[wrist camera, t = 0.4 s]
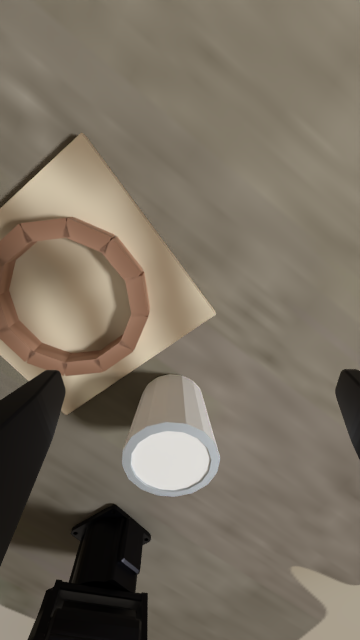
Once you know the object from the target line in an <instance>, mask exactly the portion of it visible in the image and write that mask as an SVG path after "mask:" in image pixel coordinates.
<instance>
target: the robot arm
mask: <svg viewBox="0 0 360 640" xmlns="http://www.w3.org/2000/svg"><path fill="white" fill-rule="evenodd" d="M65 393H66V390H65V386H64V382H63V379H62V376H61V373H60V371H59V370H45V371H44V372H42V373H41V374H39V375H38V376H36V377H35V378H33V379H32V380H30V381H29V382H27V383H26V384H24V385H23V386H21V387H20V388H18V389H17V390H15V391H14V392H12V393H11V394H9V395H8V396H6V397H5V398H3V399H2V400H0V566H1V563H2V561H3V559H4V556H5V554H6V551H7V549H8V546H9V544H10V541H11V539H12V537H13V534H14V532H15V529H16V527H17V524H18V522H19V520H20V517H21V515H22V512H23V510H24V507H25V505H26V503H27V500H28V498H29V495H30V493H31V490H32V488H33V486H34V483H35V481H36V478H37V476H38V473H39V471H40V469H41V466H42V464H43V461H44V459H45V456H46V454H47V451H48V449H49V447H50V444H51V441H52V439H53V436H54V433H55V429H56V426H57V422H58V419H59V415H60V412H61V408H62V405H63V402H64V398H65ZM335 394H336V398H337V401H338V404H339V407H340V410H341V413H342V416H343V419H344V422H345V425H346V428H347V431H348V434H349V436H350V439H351V442H352V444H353V446H354V448H355V451H356V453H357V455H358V457H359V459H360V371H359V370H356V369H344V370H342V371H341V373H340V376H339V380H338V383H337V386H336V390H335ZM71 534H72V535H73V536H74V537H75V538H77V539H78V540H79V541H80V545H79V548H78V552H77V555H76V559H75V562H74V566H73V569H72V573H71V576H70V580H69V583H68V582H62V580H56V582H55V585H54V587H53V588H51V589H48V590H46V593H45V596H44V599H43V602H42V605H41V608H40V610H39V613H38V616H37V618H36V621H35V623H34V625H33V628H32V630H31V633H30V635H29V638H28V640H147V602H148V593H143V592H142V593H135V590H136V581H137V574H139V572H140V565H141V555H142V545H144V544H146V543H148V542H149V541H150V540H151V535H150V534H149V533H148V532H147V531H146V530H145V529H143V528H142V527H141V526H140V525H139V524H138V523H136V522H135V521H134V520H133V519H132V518H131V517H129V516H128V515H127V514H126V513H125V512H123V511H122V510H121V509H120V508H119V507H117V506H115V505H113V506H110V507H109V508H107V509H105V510H103V511H102V512H100V513H98V514H96V515H94V516H93V517H91V518H89V519H87V520H86V521H84V522H82V523H80V524H78V525H77V526H75V527H73V528H72V531H71Z"/></svg>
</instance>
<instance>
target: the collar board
mask: <svg viewBox="0 0 360 640" xmlns="http://www.w3.org/2000/svg"><path fill="white" fill-rule="evenodd" d="M214 315H216V313H215V310H214V309H213V307H212V306H211V305H210V303H209V302H208V301H207V299H206V298H205V296H204V295H203V294H202V292H201V291H200V290H199V288H198V287H197V286H196V284H195V283H194V282H193V280H192V279H191V278H190V276H189V275H188V273H187V272H186V271H185V269H184V268H183V267H182V265H181V264H180V263H179V261H178V260H177V259H176V257H175V256H174V254H173V253H172V252H171V250H170V249H169V248H168V246H167V245H166V244H165V242H164V241H163V240H162V238H161V237H160V236H159V234H158V233H157V231H156V230H155V229H154V227H153V226H152V225H151V223H150V222H149V221H148V219H147V218H146V217H145V215H144V214H143V213H142V211H141V210H140V208H139V207H138V206H137V204H136V203H135V202H134V200H133V199H132V198H131V196H130V195H129V194H128V192H127V191H126V189H125V188H124V187H123V185H122V184H121V183H120V181H119V180H118V179H117V177H116V176H115V175H114V173H113V172H112V171H111V169H110V168H109V166H108V165H107V164H106V162H105V161H104V160H103V158H102V157H101V156H100V154H99V153H98V152H97V150H96V149H95V148H94V146H93V145H92V143H91V142H90V141H89V139H88V138H87V137H86V136H85V135H84V134H83V133H80V134H79V135H78V136H77V137H76V138H75V139H74V140H73V141H72V142H71V143H70V144H69V145H67V146H66V147H65V148H64V149H63V150H62V151H61V152H60V153H59V154H58V155H57V156H56V157H55V158H54V159H53V160H51V161H50V162H49V163H48V164H47V165H46V166H45V167H44V168H43V169H42V170H41V171H40V172H39V173H38V174H37V175H35V176H34V177H33V178H32V179H31V180H30V181H29V182H28V183H27V184H26V185H25V186H24V187H23V188H22V189H21V190H19V191H18V192H17V193H16V194H15V195H14V196H13V197H12V198H11V199H10V200H9V201H8V202H7V203H6V204H5V205H3V206H2V207H1V208H0V355H1V356H2V357H3V358H4V359H5V360H6V361H7V362H8V363H10V364H11V365H12V366H13V367H14V368H15V369H16V370H17V371H18V372H19V373H20V374H22V375H23V376H24V377H25V378H26V379H27V380H28V381H30V380H32V379H33V378H35V377H36V376H38V375H39V374H41V373H42V372H44V371H45V370H59V371H60V373H61V376H62V379H63V382H64V386H65V390H66V393H65V398H64V402H63V405H62V408H61V411H62V412H63V413H64V414H65V415H67V414H69V413H70V412H72V411H73V410H75V409H76V408H78V407H79V406H81V405H82V404H84V403H85V402H87V401H88V400H90V399H91V398H93V397H94V396H96V395H97V394H99V393H100V392H102V391H103V390H105V389H106V388H107V387H109V386H110V385H112V384H113V383H115V382H116V381H118V380H119V379H121V378H122V377H124V376H125V375H127V374H128V373H130V372H131V371H133V370H134V369H136V368H137V367H139V366H140V365H142V364H143V363H145V362H146V361H147V360H149V359H150V358H152V357H153V356H155V355H156V354H158V353H159V352H161V351H162V350H164V349H165V348H167V347H168V346H170V345H171V344H173V343H174V342H176V341H177V340H179V339H180V338H182V337H183V336H185V335H186V334H187V333H189V332H190V331H192V330H193V329H195V328H196V327H198V326H199V325H201V324H202V323H204V322H205V321H207V320H208V319H210V318H211V317H213V316H214Z"/></svg>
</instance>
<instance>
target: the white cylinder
mask: <svg viewBox="0 0 360 640" xmlns="http://www.w3.org/2000/svg"><path fill="white" fill-rule="evenodd" d="M219 462H220V455H219V452H218V448H217V445H216V441H215V438H214V434H213V431H212V427H211V424H210V420H209V417H208V413H207V410H206V406H205V403H204V399H203V396H202V393H201V390H200V388H199V387H198V386H197V385H196V383H195V382H194V381H193V380H191V379H189V378H187V377H185V376H182V375H174V374H168V375H164V376H160V377H157V378H155V379H154V380H153V381H151V382H150V383H148V385H147V386H146V388H145V390H144V391H143V393H142V396H141V399H140V402H139V405H138V408H137V411H136V413H135V416H134V419H133V422H132V425H131V428H130V431H129V434H128V437H127V440H126V443H125V446H124V449H123V457H122V466H123V468H124V470H125V472H126V474H127V476H128V479H130V480H131V481H132V482H133V483H134V484H135V485H137V486H138V487H139V488H140V489H142V490H145V491H147V492H150V493H152V494H155V495H159V496H174V497H176V496H181V495H185V494H190V493H194V492H195V491H197V490H199V489H201V488H202V487H204V486H206V485H207V484H208V483H209V482H210V481H211V480H212V478H213V477H214V476H215V474H216V473H217V471H218V466H219Z"/></svg>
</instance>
